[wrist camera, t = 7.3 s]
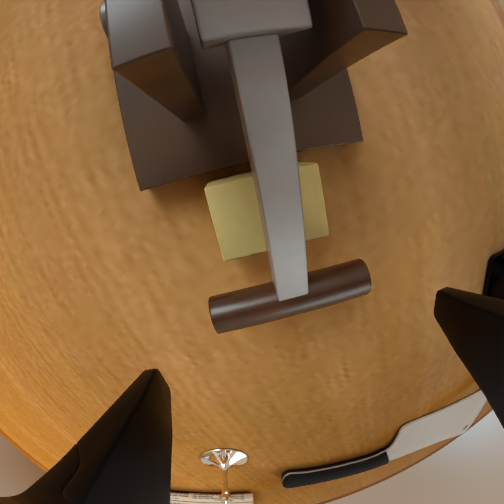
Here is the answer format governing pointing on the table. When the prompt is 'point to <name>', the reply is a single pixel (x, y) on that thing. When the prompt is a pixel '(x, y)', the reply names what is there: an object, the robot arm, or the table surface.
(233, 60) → the lever handle
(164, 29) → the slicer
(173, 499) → the newspaper
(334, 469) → the kitchen cleaver
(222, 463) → the wineglass
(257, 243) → the butter
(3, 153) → the table surface
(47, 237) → the table surface
